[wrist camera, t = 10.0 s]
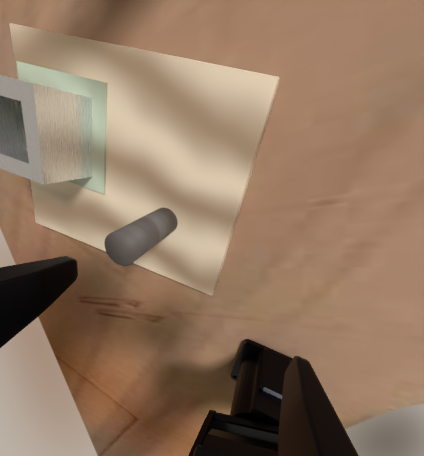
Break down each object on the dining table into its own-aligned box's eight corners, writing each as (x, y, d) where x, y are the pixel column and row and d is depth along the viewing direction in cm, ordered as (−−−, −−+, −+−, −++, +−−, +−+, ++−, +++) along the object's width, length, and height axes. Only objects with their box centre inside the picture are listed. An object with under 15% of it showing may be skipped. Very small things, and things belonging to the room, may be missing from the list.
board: (216, 286, 22) (186, 348, 15) (48, 218, 26) (-33, 243, 19) (279, 83, 14) (275, 29, 8) (29, 31, 18) (-115, -33, 12)
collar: (92, 176, 20) (43, 184, 16) (38, 158, 21) (-20, 161, 17) (92, 98, 17) (33, 83, 13) (30, 81, 18) (-41, 63, 14)
